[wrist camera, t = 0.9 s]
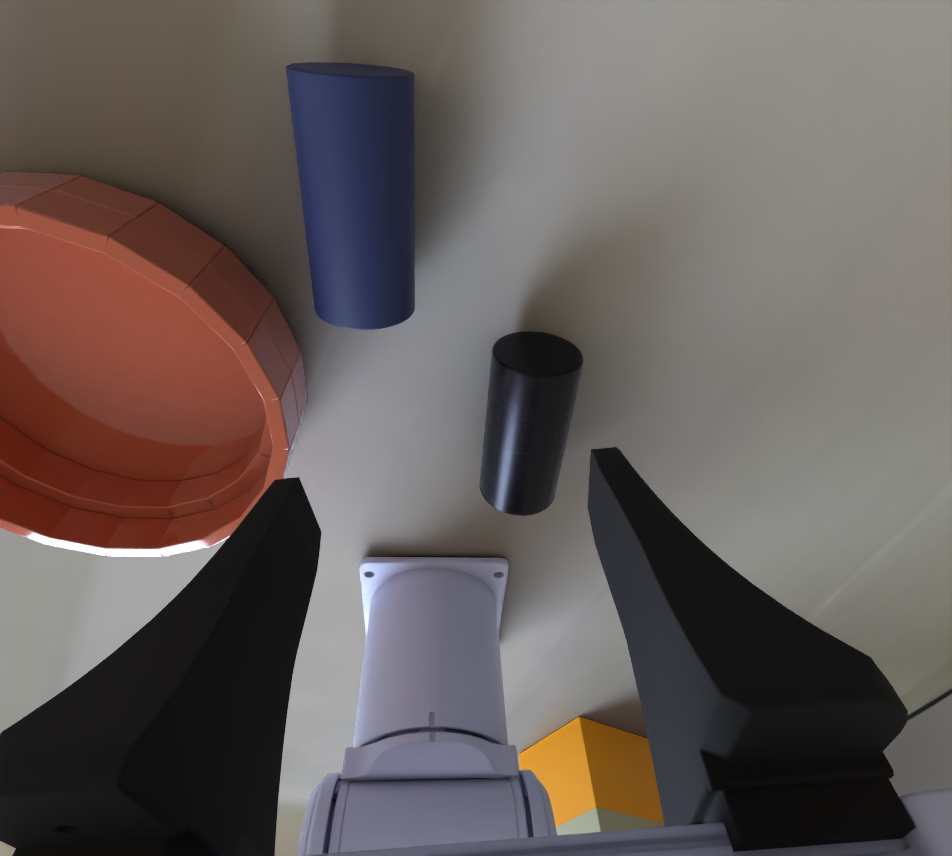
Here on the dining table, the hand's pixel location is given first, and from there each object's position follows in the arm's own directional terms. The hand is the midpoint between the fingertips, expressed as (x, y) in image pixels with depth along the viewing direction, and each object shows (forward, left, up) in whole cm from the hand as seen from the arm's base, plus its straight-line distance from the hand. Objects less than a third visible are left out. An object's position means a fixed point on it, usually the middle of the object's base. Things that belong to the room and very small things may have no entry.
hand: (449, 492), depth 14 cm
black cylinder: (-4, -3, -10) cm, 11 cm away
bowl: (-2, +13, -10) cm, 16 cm away
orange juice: (-38, -13, -10) cm, 41 cm away
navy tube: (+5, +2, -10) cm, 11 cm away
